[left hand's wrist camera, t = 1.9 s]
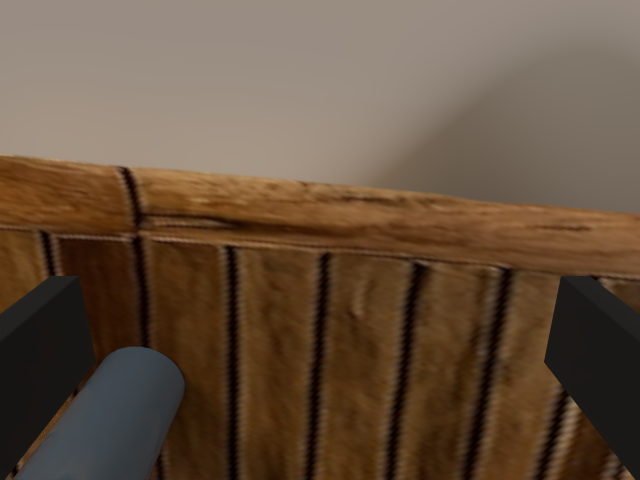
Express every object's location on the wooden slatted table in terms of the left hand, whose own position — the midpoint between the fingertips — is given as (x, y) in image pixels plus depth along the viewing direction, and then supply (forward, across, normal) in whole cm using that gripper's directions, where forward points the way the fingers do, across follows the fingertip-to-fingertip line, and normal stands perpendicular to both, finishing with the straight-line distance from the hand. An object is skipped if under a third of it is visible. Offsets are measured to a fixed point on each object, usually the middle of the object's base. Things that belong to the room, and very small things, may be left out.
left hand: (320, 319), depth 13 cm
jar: (+28, +18, +24) cm, 41 cm away
